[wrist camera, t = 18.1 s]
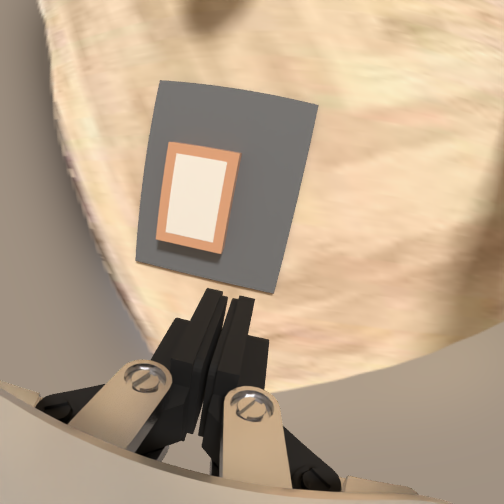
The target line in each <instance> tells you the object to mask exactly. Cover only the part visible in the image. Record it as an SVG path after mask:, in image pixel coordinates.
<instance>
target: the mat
mask: <svg viewBox="0 0 504 504" xmlns="http://www.w3.org/2000/svg"><path fill="white" fill-rule="evenodd" d="M317 110H318V105H315V104H311V103H307V102H303V101H298V100H294V99H289V98H285V97H280V96H275V95H270V94H264V93H259V92H253V91H247V90H241V89H235V88H228V87H221V86H213V85H205V84H196V83H187V82H175V81H162V80H160V83H159V88H158V92H157V97H156V102H155V107H154V113H153V118H152V124H151V129H150V135H149V142H148V148H147V154H146V161H145V168H144V176H143V184H142V192H141V201H140V211H139V221H138V233H137V246H136V261H139V262H143V263H147V264H151V265H155V266H159V267H163V268H167V269H171V270H175V271H179V272H183V273H187V274H191V275H195V276H199V277H203V278H208V279H212V280H216V281H220V282H225V283H229V284H233V285H238V286H242V287H246V288H251V289H255V290H260V291H264V292H269V293H273V294H274V291H275V287H276V283H277V279H278V275H279V271H280V267H281V264H282V260H283V256H284V252H285V248H286V244H287V240H288V236H289V231H290V227H291V223H292V219H293V215H294V211H295V207H296V203H297V198H298V194H299V190H300V186H301V181H302V177H303V173H304V168H305V164H306V160H307V155H308V151H309V146H310V142H311V137H312V133H313V128H314V124H315V119H316V114H317ZM169 142H180V143H186V144H193V145H199V146H205V147H211V148H217V149H223V150H228V151H234V152H239V153H242V156H241V161H240V166H239V171H238V177H237V182H236V187H235V192H234V197H233V203H232V208H231V213H230V219H229V224H228V230H227V235H226V241H225V246H224V250H223V252H222V253H221V254H219V253H214V252H210V251H205V250H201V249H196V248H192V247H188V246H183V245H179V244H174V243H170V242H166V241H161V240H157V239H156V232H157V223H158V214H159V205H160V197H161V190H162V182H163V175H164V168H165V162H166V155H167V149H168V143H169Z"/></svg>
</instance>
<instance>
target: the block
mask: <svg viewBox="0 0 504 504" xmlns="http://www.w3.org/2000/svg"><path fill="white" fill-rule="evenodd" d="M241 156H242V153H239V152H234V151H228V150H223V149H217V148H211V147H205V146H199V145H193V144H186V143H180V142H169V143H168V149H167V155H166V162H165V168H164V175H163V182H162V190H161V197H160V205H159V214H158V223H157V232H156V239H157V240H161V241H166V242H170V243H174V244H179V245H183V246H188V247H192V248H196V249H201V250H205V251H210V252H214V253H219V254H221V253H222V252H223V250H224V246H225V241H226V235H227V230H228V224H229V219H230V213H231V208H232V203H233V197H234V192H235V187H236V182H237V177H238V171H239V166H240V161H241Z"/></svg>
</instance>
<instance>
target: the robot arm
mask: <svg viewBox="0 0 504 504" xmlns="http://www.w3.org/2000/svg"><path fill="white" fill-rule="evenodd" d="M222 295H223V291H218V290H214V289H210V288H207V289H206V291H205V293H204V295H203V297H202V299H201V301H200V303H199V305H198V306H197V308H196V310H195V312H194V314H193V316H192V318H191V320H190V321H188V320H184V319H180V318H175V320H174V321H173V323H172V324H171V326H170V328H169V330H168V331H167V333H166V335H165V336H164V338H163V340H162V341H161V343H160V345H159V347H158V348H157V350H156V352H155V353H154V355H153V357H152V359H151V360H134V361H132V362H129V363H127V364H126V365H124V366H123V367H122V368H121V369H120V370H119V371H118V372H117V373H116V374H115V375H114V376H113V377H112V378H111V379H110V380H109V381H108V382H107V383H106V384H103V385H98V386H94V387H89V388H83V389H79V390H74V391H68V392H63V393H57V394H52V395H49V396H46V397H44V398H42V397H41V396H40V393H37V392H34V391H31V390H27V389H24V388H21V387H18V386H15V385H12V384H9V383H6V382H3V381H1V380H0V504H453V503H450V502H447V501H445V500H440V499H437V498H433V497H429V496H422V495H418V493H417V492H416V491H414V490H413V489H412V488H409V487H406V486H401V485H393V484H388V483H382V482H377V481H371V480H367V479H361V478H357V477H353V476H347V477H346V478H342V477H339V476H338V475H337V474H336V473H335V471H334V470H333V469H332V468H330V467H329V466H328V465H327V464H326V463H324V462H323V461H322V460H321V459H320V458H318V457H317V456H316V455H315V454H314V453H313V452H312V451H311V450H309V449H308V448H307V447H306V446H305V445H304V444H302V443H301V442H300V441H299V440H298V439H297V438H296V437H295V436H294V435H293V434H291V433H290V432H289V431H288V430H287V429H286V428H285V427H284V426H283V424H282V418H281V411H280V406H279V404H278V401H277V400H276V399H275V398H274V396H273V395H271V394H270V393H269V392H267V391H265V390H264V388H265V378H266V368H267V358H268V348H269V340H268V339H264V338H259V337H254V336H250V335H248V331H249V326H250V321H251V316H252V311H253V306H254V301H255V299H253V298H249V297H244V296H239V299H234V298H232V301H231V304H230V307H229V310H228V313H227V316H226V319H225V322H224V325H223V321H224V316H225V310H226V305H227V300H228V297H226V296H222ZM222 326H223V328H222ZM203 401H204V402H203ZM202 404H203V408H202V414H201V421H200V427H199V433H198V435H199V436H202V437H203V442H202V448H203V449H204V450H205V451H206V453H207V454H208V455H209V456H210V457H211V461H210V475H207V474H203V473H199V472H195V471H191V470H187V469H184V468H180V467H177V466H173V465H170V464H166V463H163V462H162V460H163V458H164V457H165V455H166V453H167V451H168V449H169V445H171V444H174V443H176V442H179V441H184V440H185V437H186V434H187V433H190V434H193V432H194V430H195V427H196V423H197V420H198V417H199V414H200V410H201V407H202Z"/></svg>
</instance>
